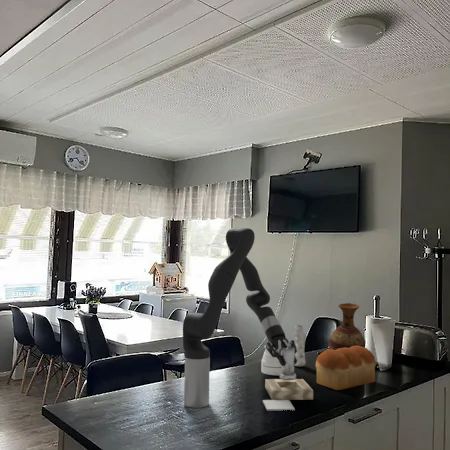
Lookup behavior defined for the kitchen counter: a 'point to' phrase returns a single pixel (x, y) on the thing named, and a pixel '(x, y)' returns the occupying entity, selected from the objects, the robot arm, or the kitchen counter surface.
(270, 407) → the grey rubber pad
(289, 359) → the steel plug
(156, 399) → the kitchen counter surface
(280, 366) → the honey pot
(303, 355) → the plastic bottle
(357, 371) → the bread
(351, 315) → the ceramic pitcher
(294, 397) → the frame
